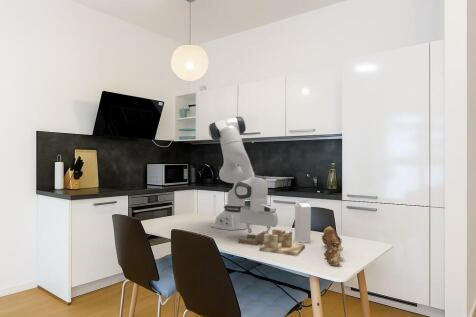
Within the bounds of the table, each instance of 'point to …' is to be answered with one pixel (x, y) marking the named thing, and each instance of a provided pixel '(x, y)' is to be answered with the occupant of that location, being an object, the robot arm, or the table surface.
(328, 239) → the sculpture
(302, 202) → the milk
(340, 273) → the table surface
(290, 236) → the stand
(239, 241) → the brown u-shaped block
